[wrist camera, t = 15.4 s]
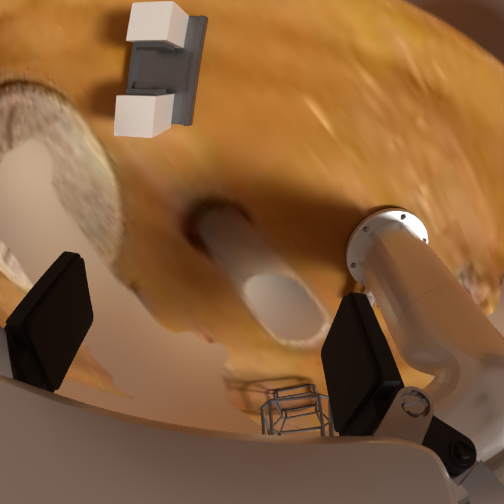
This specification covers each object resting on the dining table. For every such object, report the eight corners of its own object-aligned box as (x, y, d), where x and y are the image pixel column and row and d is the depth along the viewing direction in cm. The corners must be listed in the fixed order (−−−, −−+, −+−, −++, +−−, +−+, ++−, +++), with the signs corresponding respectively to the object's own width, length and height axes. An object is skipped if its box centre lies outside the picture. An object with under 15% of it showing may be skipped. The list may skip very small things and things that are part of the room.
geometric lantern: (265, 419, 64) (264, 564, 33) (251, 378, 56) (242, 559, 26) (336, 409, 62) (355, 555, 31) (334, 366, 54) (363, 549, 24)
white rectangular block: (170, 127, 33) (152, 137, 27) (138, 125, 33) (113, 135, 27) (175, 88, 31) (156, 90, 25) (141, 87, 31) (117, 89, 25)
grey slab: (192, 124, 34) (189, 126, 33) (128, 119, 33) (123, 121, 32) (208, 18, 28) (206, 15, 26) (141, 18, 27) (136, 15, 26)
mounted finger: (182, 53, 29) (165, 46, 23) (148, 52, 29) (125, 46, 22) (189, 16, 27) (173, 1, 20) (154, 16, 26) (132, 2, 20)
